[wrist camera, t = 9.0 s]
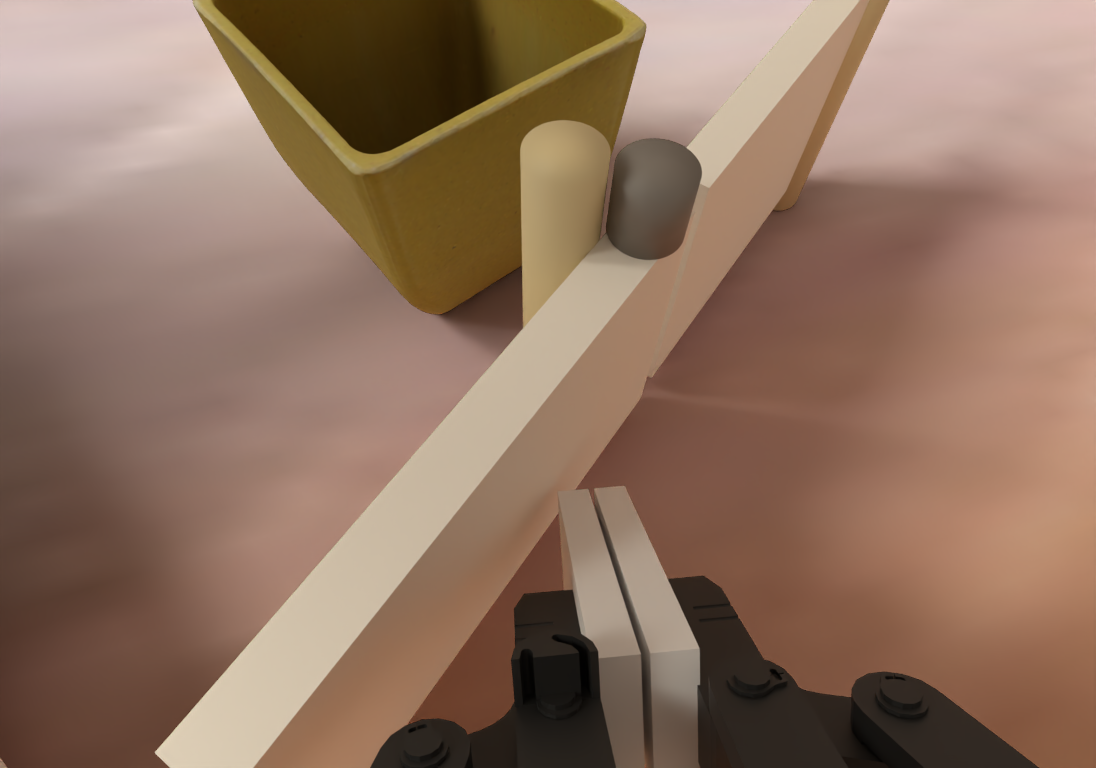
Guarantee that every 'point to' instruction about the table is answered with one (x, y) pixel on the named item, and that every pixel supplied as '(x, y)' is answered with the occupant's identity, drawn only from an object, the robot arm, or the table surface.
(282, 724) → the gate
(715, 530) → the table surface
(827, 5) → the fence
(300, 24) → the flower pot
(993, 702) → the table surface
